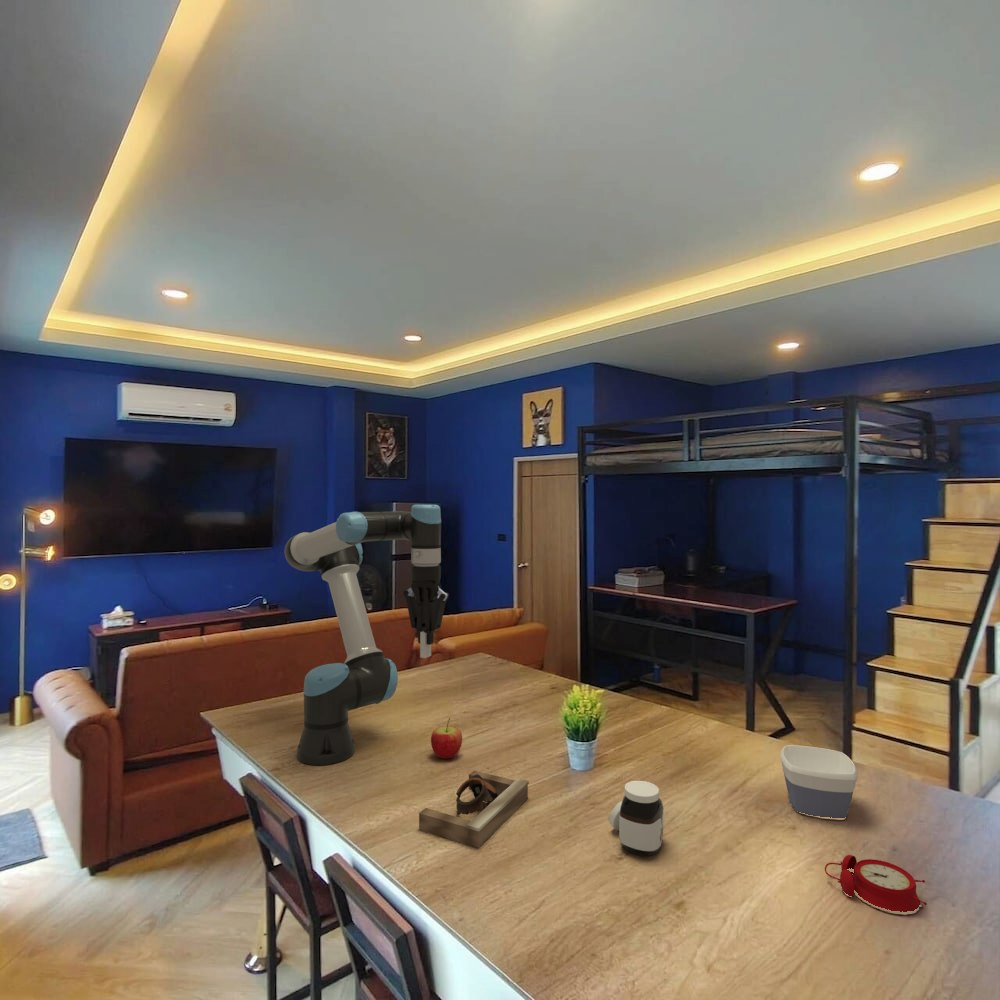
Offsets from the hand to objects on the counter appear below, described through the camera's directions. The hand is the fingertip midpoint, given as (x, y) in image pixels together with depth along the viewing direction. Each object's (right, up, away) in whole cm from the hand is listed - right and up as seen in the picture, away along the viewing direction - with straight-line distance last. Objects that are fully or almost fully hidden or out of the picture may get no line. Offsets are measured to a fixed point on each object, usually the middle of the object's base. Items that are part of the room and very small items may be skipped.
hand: (425, 656), depth 157 cm
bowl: (+91, -30, -18) cm, 98 cm away
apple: (+5, -30, +9) cm, 31 cm away
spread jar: (+47, -30, -31) cm, 64 cm away
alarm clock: (+86, -30, -48) cm, 103 cm away
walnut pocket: (+14, -29, -21) cm, 39 cm away
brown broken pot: (+14, -30, -19) cm, 38 cm away
